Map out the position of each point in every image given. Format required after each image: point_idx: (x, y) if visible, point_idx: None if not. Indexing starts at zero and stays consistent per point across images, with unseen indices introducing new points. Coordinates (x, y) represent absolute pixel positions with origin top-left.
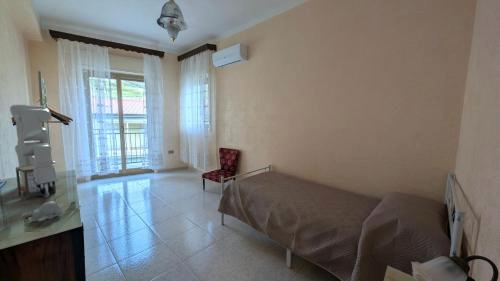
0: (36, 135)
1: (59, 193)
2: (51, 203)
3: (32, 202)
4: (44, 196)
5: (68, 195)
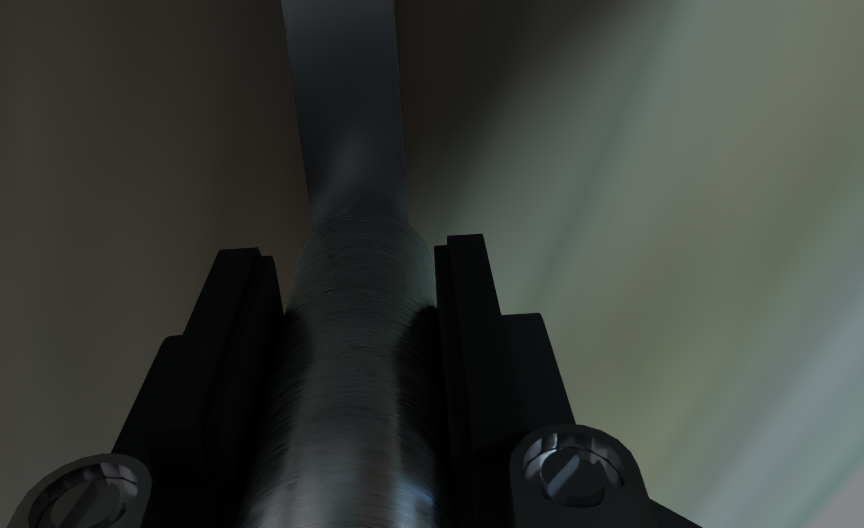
0: None
1: (776, 65)
2: None
3: (18, 325)
4: (316, 213)
5: (751, 448)
